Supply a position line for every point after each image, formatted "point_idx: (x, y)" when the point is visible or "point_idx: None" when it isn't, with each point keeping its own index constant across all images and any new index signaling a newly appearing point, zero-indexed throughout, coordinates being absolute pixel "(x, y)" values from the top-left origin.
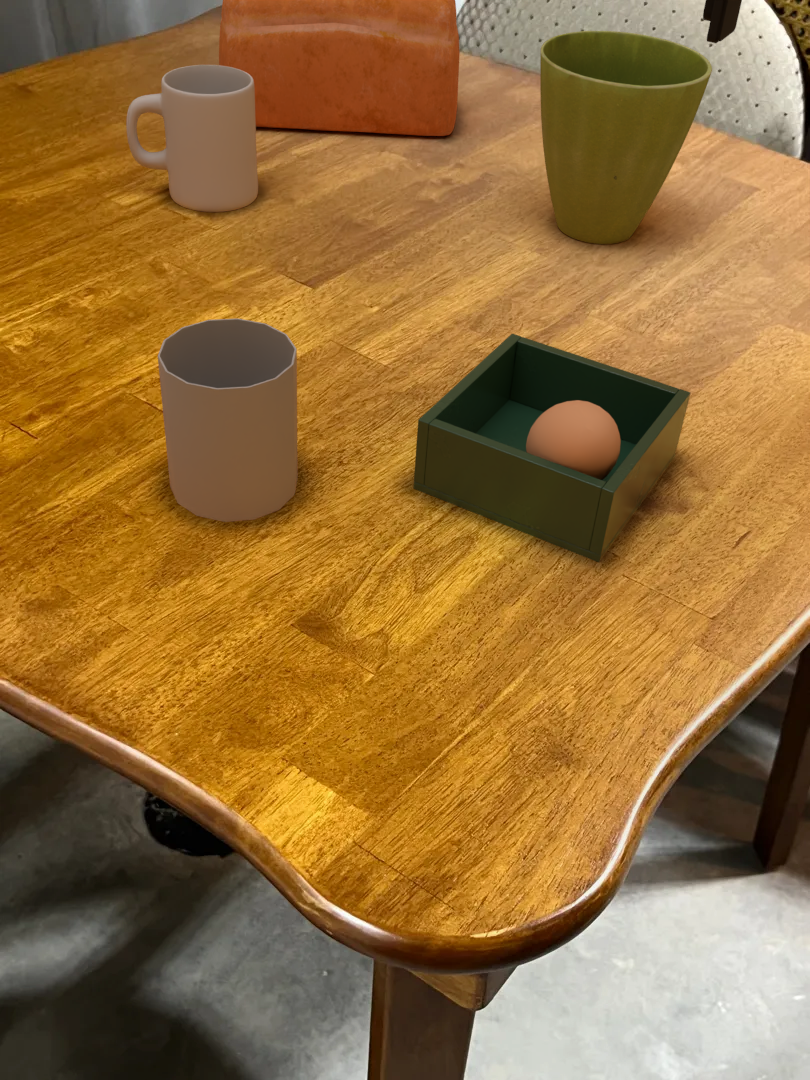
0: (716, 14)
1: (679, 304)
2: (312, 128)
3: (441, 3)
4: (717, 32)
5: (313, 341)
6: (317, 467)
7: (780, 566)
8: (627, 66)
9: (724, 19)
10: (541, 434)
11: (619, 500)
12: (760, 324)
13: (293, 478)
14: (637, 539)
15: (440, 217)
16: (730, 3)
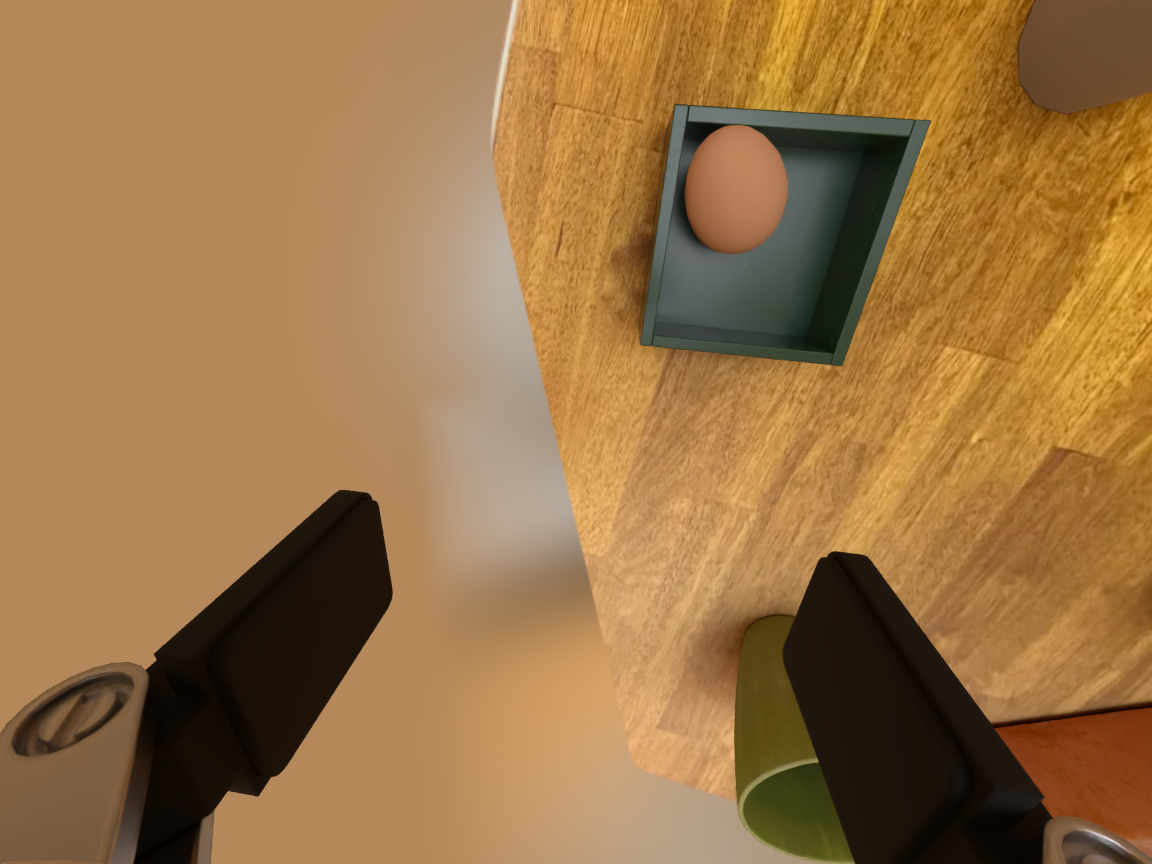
0: (890, 606)
1: (683, 554)
2: (1104, 714)
3: None
4: (846, 569)
5: (1039, 352)
6: (996, 118)
7: (521, 219)
8: (823, 818)
9: (849, 604)
10: (777, 151)
11: (667, 143)
12: (614, 551)
13: (1040, 33)
14: (641, 187)
15: (929, 611)
16: (859, 664)
